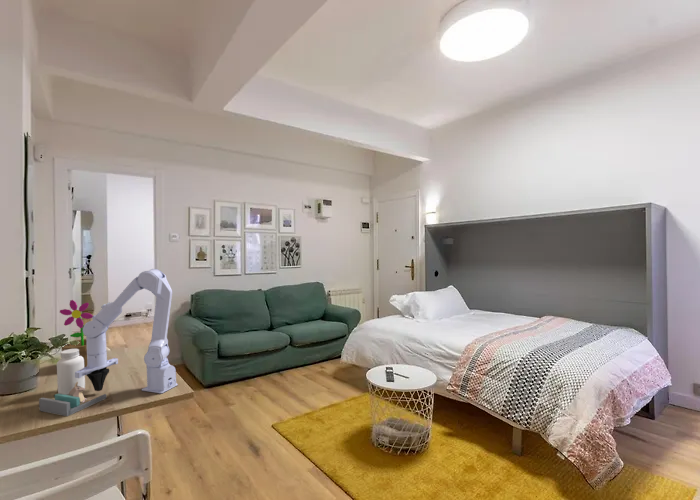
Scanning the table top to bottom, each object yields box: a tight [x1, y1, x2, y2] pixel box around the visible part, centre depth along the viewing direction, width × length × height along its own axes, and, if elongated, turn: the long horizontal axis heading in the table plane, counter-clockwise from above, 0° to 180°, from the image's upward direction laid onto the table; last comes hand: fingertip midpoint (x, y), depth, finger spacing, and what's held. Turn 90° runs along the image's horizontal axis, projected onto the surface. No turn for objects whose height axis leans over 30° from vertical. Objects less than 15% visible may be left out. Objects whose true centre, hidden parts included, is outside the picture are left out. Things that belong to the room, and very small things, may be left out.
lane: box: [38, 393, 107, 417], centre depth 121 cm, size 13×13×4 cm
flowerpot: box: [59, 299, 94, 368], centre depth 157 cm, size 14×14×30 cm
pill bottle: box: [56, 349, 86, 395], centre depth 132 cm, size 8×8×15 cm
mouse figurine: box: [69, 382, 87, 404], centre depth 122 cm, size 5×8×7 cm, turn 111°
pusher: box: [54, 393, 81, 409], centre depth 119 cm, size 10×1×4 cm, turn 72°
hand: (98, 390), depth 129 cm, fingers closed
